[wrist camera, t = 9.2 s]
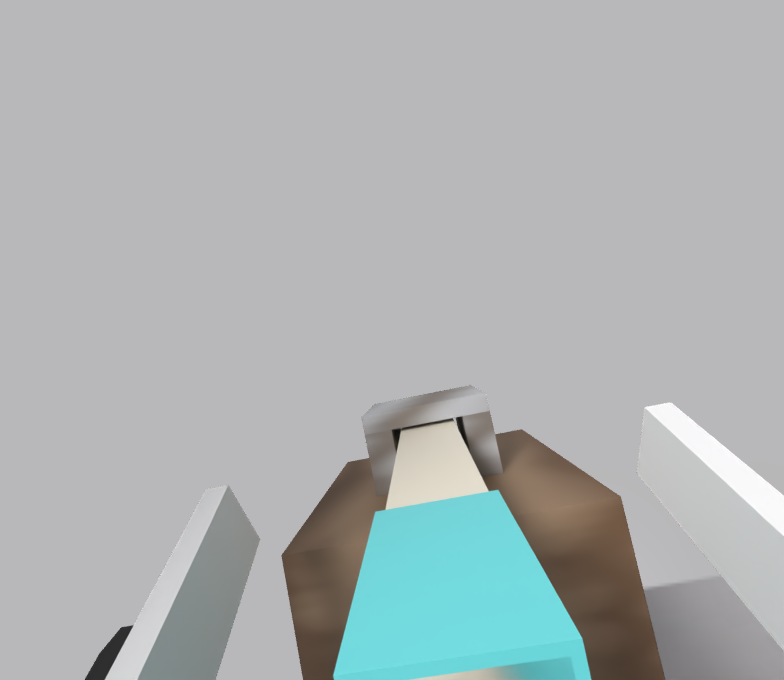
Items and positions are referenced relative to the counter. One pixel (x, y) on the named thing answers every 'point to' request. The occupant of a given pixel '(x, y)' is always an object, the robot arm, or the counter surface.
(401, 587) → the cream teal square bar
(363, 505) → the stand
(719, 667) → the counter surface
